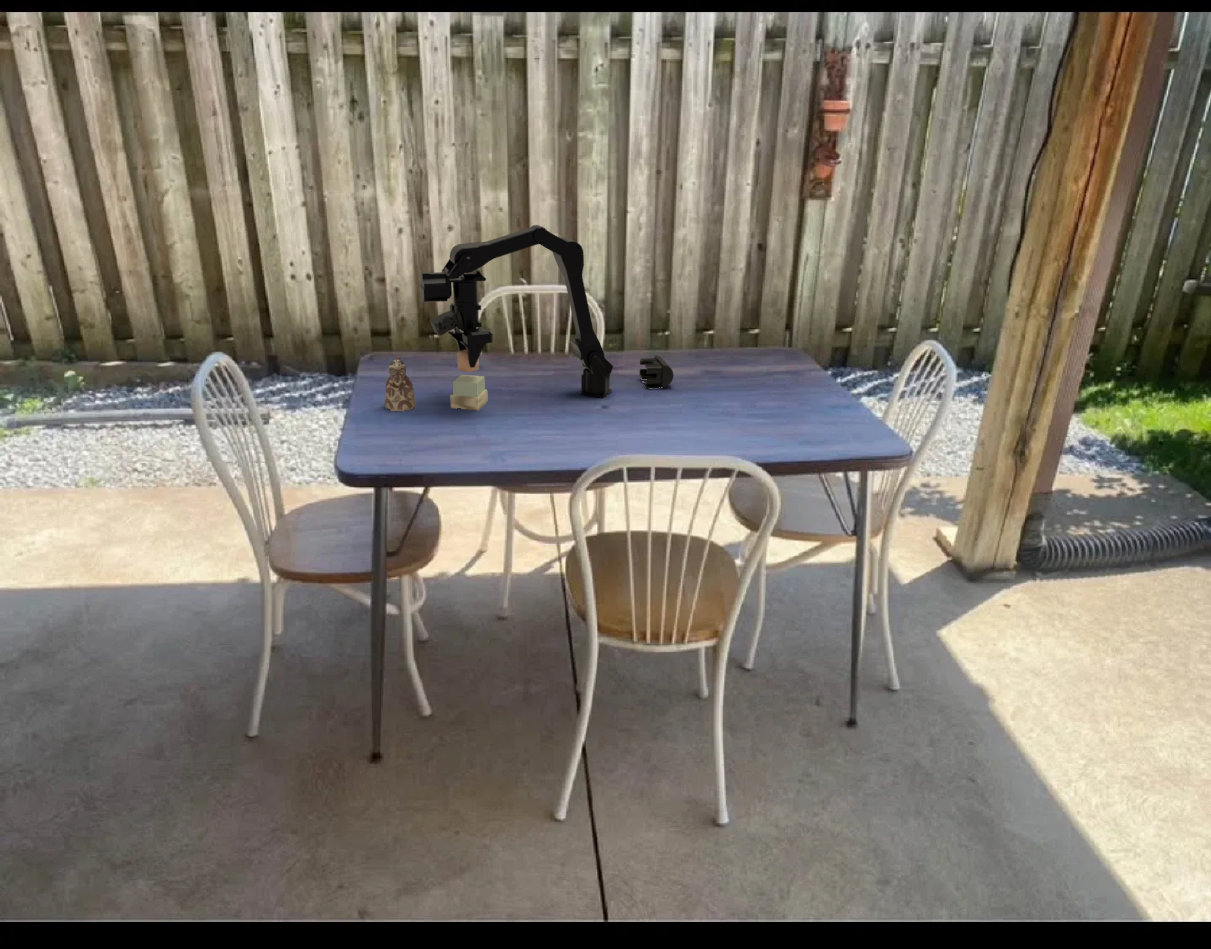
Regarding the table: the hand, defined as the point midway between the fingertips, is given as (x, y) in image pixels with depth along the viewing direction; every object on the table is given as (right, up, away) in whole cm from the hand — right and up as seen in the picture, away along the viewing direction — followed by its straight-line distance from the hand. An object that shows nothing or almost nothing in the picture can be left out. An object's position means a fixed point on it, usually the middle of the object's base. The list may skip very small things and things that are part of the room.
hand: (468, 364), depth 211 cm
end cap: (+47, -2, +24) cm, 53 cm away
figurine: (-17, -10, +1) cm, 20 cm away
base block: (0, -10, +4) cm, 11 cm away
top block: (0, -7, +3) cm, 7 cm away
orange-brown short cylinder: (0, -1, 0) cm, 1 cm away
